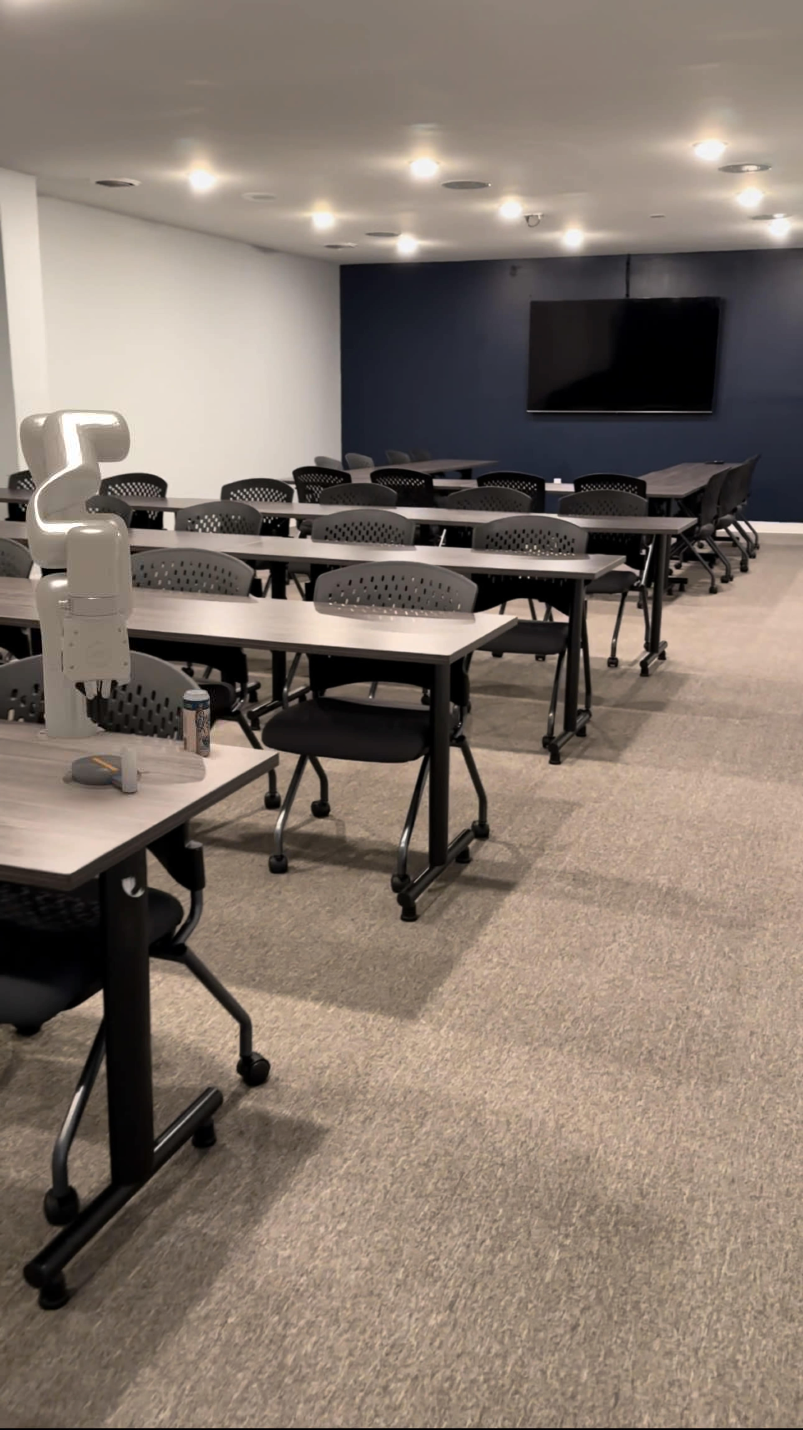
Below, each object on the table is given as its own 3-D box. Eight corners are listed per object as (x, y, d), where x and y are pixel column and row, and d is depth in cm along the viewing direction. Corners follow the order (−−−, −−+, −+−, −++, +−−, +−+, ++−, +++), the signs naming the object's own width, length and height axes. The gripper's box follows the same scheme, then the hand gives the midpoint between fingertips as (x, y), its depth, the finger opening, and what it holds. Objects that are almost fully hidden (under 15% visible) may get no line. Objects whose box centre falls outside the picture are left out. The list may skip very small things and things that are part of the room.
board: (37, 776, 209) (37, 769, 208) (127, 760, 219) (127, 753, 219) (91, 808, 194) (91, 800, 194) (185, 789, 205) (184, 781, 204)
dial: (61, 772, 206) (59, 732, 204) (115, 762, 212) (114, 724, 210) (105, 797, 194) (103, 755, 193) (160, 786, 201) (159, 745, 199)
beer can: (204, 760, 221) (204, 696, 218) (179, 757, 222) (179, 693, 219) (213, 752, 226) (213, 689, 223) (189, 750, 227) (188, 687, 224)
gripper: (48, 612, 182) (53, 731, 186) (147, 608, 188) (149, 723, 193) (39, 604, 188) (44, 719, 193) (135, 601, 195) (138, 712, 199)
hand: (97, 721), depth 193 cm, fingers closed
